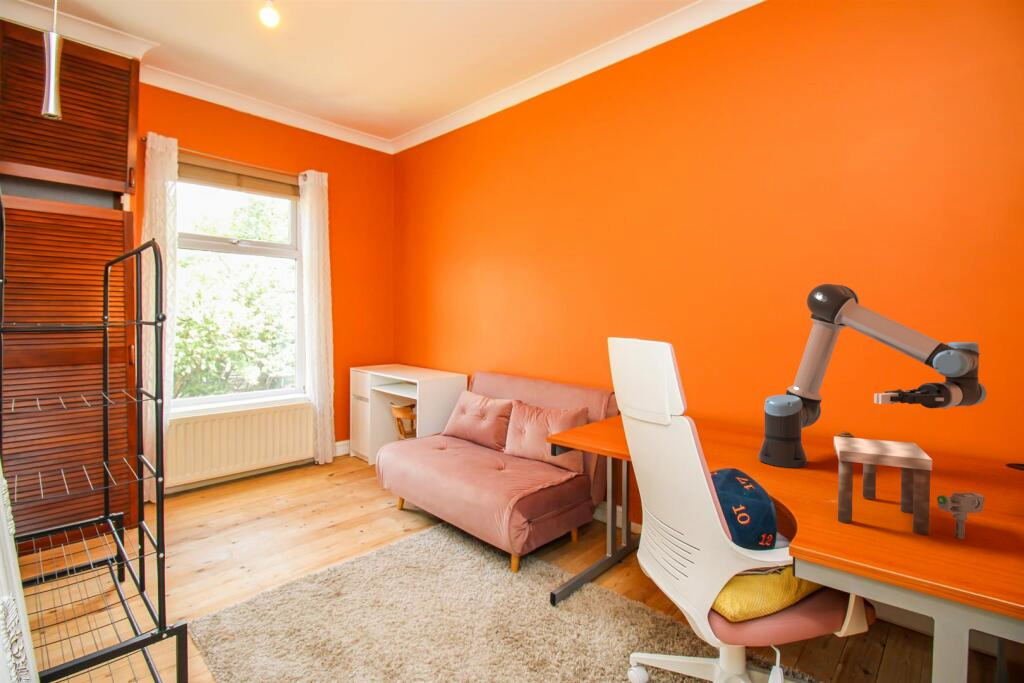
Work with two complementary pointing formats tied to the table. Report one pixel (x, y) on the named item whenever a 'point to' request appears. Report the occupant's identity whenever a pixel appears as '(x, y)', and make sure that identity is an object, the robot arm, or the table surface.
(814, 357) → the robot arm
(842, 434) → the ornamental finial
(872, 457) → the stool
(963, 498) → the mechanical component
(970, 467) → the table surface
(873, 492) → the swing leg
